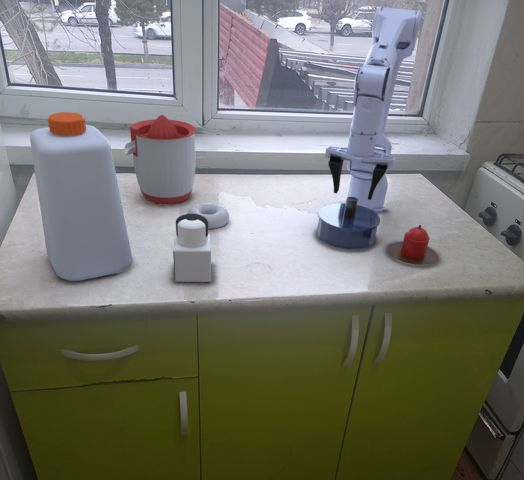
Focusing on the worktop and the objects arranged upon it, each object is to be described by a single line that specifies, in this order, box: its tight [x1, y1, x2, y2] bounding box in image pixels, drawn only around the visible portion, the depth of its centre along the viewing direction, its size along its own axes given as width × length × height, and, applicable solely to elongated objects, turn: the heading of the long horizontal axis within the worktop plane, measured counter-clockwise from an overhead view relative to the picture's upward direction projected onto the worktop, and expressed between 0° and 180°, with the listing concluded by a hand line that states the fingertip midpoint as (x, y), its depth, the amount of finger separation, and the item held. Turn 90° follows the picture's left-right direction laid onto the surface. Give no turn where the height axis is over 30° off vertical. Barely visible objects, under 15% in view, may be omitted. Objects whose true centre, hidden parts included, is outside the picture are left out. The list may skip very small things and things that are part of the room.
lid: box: [317, 196, 381, 232], centre depth 116 cm, size 14×14×5 cm
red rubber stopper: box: [401, 224, 430, 258], centre depth 113 cm, size 5×5×7 cm
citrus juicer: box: [123, 114, 197, 205], centre depth 126 cm, size 16×17×20 cm
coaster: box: [387, 241, 438, 266], centre depth 116 cm, size 11×11×1 cm
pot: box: [316, 218, 378, 250], centre depth 119 cm, size 13×13×5 cm
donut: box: [186, 202, 230, 230], centre depth 121 cm, size 10×4×10 cm
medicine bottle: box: [172, 213, 212, 283], centre depth 100 cm, size 7×7×12 cm
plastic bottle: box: [29, 111, 133, 282], centre depth 96 cm, size 15×15×28 cm
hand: (352, 194), depth 114 cm, fingers open, 7 cm apart
